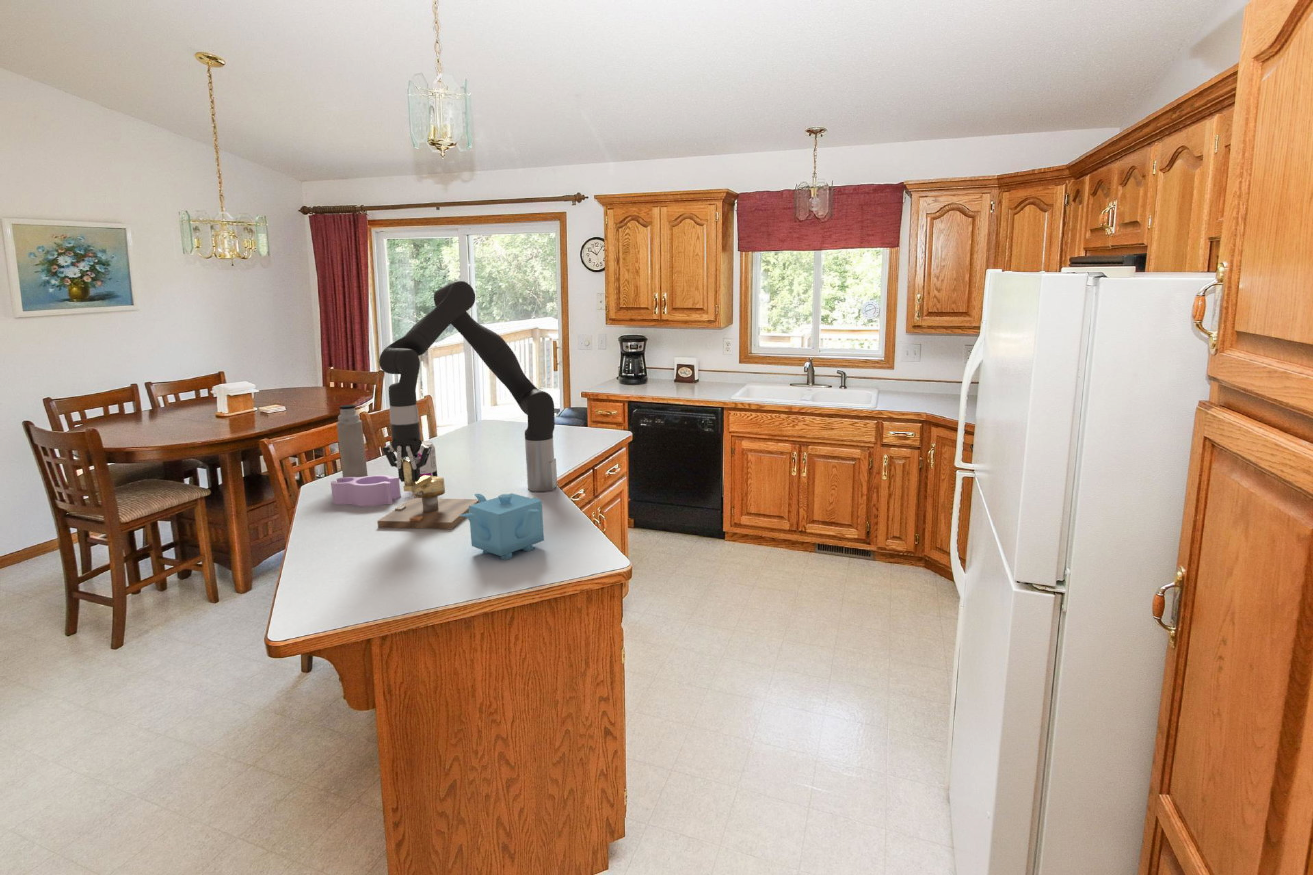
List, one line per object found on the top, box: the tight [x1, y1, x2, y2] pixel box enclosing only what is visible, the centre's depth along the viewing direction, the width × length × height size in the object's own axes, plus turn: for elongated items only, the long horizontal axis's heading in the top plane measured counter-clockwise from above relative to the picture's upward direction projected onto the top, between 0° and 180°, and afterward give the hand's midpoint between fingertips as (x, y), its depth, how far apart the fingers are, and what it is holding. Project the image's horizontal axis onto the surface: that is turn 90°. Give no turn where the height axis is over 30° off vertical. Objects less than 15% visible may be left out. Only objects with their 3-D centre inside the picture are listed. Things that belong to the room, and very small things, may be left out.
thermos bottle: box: [336, 404, 369, 477], centre depth 246 cm, size 8×8×28 cm
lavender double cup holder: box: [330, 474, 402, 507], centre depth 229 cm, size 20×12×7 cm, turn 87°
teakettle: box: [460, 493, 545, 560], centre depth 182 cm, size 19×19×15 cm
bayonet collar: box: [402, 458, 446, 498], centre depth 207 cm, size 17×9×12 cm, turn 169°
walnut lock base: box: [377, 496, 479, 530], centre depth 212 cm, size 22×22×7 cm
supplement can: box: [418, 441, 439, 477], centre depth 243 cm, size 8×8×15 cm
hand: (409, 480), depth 200 cm, fingers closed on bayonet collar, 3 cm apart
